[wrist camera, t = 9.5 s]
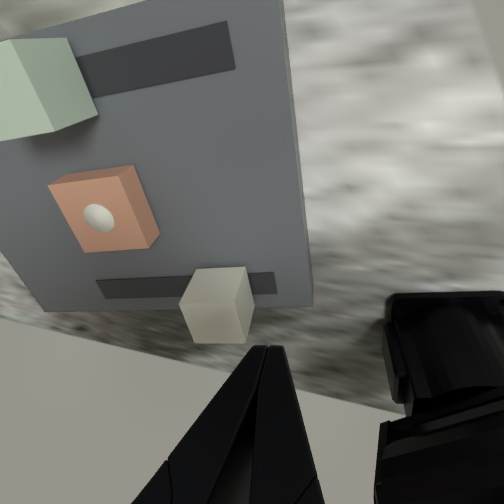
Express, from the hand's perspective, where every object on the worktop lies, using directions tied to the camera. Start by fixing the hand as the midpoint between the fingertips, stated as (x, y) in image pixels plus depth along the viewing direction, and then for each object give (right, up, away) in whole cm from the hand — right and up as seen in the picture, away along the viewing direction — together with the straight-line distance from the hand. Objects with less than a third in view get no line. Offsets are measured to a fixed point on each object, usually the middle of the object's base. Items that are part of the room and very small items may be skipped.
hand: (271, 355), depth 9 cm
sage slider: (-9, +10, +6) cm, 15 cm away
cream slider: (-2, +1, +11) cm, 11 cm away
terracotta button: (-8, +5, +9) cm, 13 cm away
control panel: (-8, +7, +11) cm, 15 cm away
